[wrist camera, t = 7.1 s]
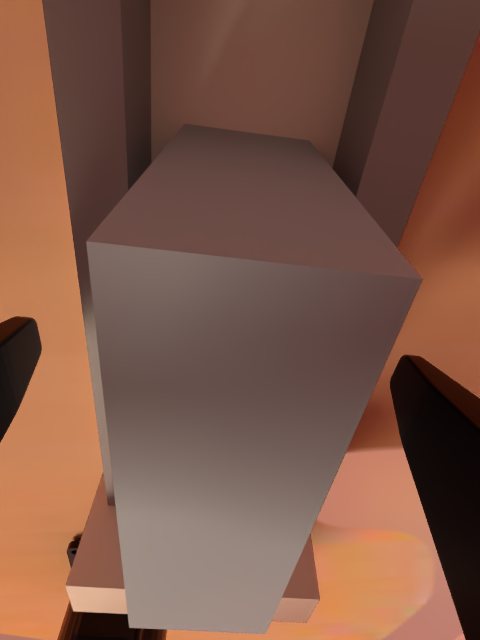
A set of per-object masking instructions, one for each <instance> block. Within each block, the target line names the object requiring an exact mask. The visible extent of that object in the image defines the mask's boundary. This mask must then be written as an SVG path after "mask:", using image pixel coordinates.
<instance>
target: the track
mask: <svg viewBox="0 0 480 640" xmlns="http://www.w3.org/2000/svg"><path fill="white" fill-rule="evenodd" d="M42 3H43V10H44V18H45V26H46V33H47V41H48V49H49V57H50V64H51V72H52V80H53V87H54V95H55V103H56V110H57V118H58V126H59V134H60V141H61V149H62V157H63V164H64V172H65V180H66V187H67V195H68V203H69V210H70V218H71V226H72V234H73V241H74V249H75V257H76V264H77V272H78V280H79V287H80V295H81V303H82V311H83V318H84V326H85V334H86V341H87V349H88V357H89V364H90V372H91V380H92V388H93V395H94V403H95V411H96V418H97V426H98V434H99V441H100V449H101V457H102V464H103V474H102V477H101V480H100V483H99V486H98V489H97V492H96V495H95V498H94V501H93V504H92V507H91V510H90V513H89V516H88V519H87V522H86V525H85V528H84V531H83V534H82V537H81V540H80V544H79V547H78V550H77V553H76V556H75V559H74V562H73V565H72V568H71V571H70V574H69V577H68V580H67V583H66V589H67V593H68V596H69V599H70V602H71V605H72V609H73V611H76V612H96V613H116V614H128V613H127V604H126V595H125V586H124V577H123V568H122V559H121V550H120V541H119V532H118V523H117V514H116V505H115V496H114V487H113V478H112V469H111V460H110V451H109V442H108V433H107V424H106V415H105V406H104V397H103V388H102V379H101V370H100V361H99V352H98V343H97V334H96V325H95V316H94V307H93V299H92V290H91V281H90V272H89V263H88V254H87V245H86V241H87V240H88V238H89V237H90V236H91V235H92V234H93V233H94V231H95V230H96V229H97V228H98V227H99V225H100V224H101V223H102V222H103V221H104V219H105V218H106V217H107V216H108V215H109V213H110V212H111V211H112V210H113V209H114V207H115V206H116V205H117V204H118V203H119V202H120V200H121V199H122V198H123V197H124V196H125V194H126V193H127V192H128V191H129V190H130V188H131V187H132V186H133V185H134V184H135V182H136V181H137V180H138V179H139V178H140V177H141V175H142V174H143V173H144V172H145V171H146V169H147V168H148V167H149V166H150V165H151V163H152V162H153V161H154V160H155V159H156V157H157V156H158V155H159V154H160V153H161V152H162V150H163V149H164V148H165V147H166V146H167V144H168V143H169V142H170V141H171V140H172V138H173V137H174V136H175V135H176V134H177V132H178V131H179V130H180V129H181V128H182V126H183V125H184V124H191V125H198V126H205V127H213V128H220V129H228V130H235V131H242V132H250V133H257V134H265V135H272V136H279V137H287V138H294V139H302V140H309V141H310V142H311V143H312V144H313V146H314V147H315V148H316V149H317V150H318V152H319V153H320V154H321V155H322V157H323V158H324V159H325V160H326V161H327V163H328V164H329V165H330V166H331V168H332V169H333V170H334V171H335V173H336V174H337V175H338V176H339V177H340V179H341V180H342V181H343V182H344V184H345V185H346V186H347V187H348V188H349V190H350V191H351V192H352V193H353V195H354V196H355V197H356V198H357V199H358V201H359V202H360V203H361V204H362V206H363V207H364V208H365V209H366V210H367V212H368V213H369V214H370V215H371V217H372V218H373V219H374V220H375V221H376V223H377V224H378V225H379V226H380V228H381V229H382V230H383V231H384V233H385V234H386V235H387V236H388V237H389V239H390V240H391V241H392V242H393V244H394V245H395V246H396V247H397V248H398V245H399V242H400V240H401V237H402V234H403V232H404V229H405V227H406V224H407V221H408V219H409V216H410V214H411V211H412V208H413V206H414V203H415V200H416V198H417V195H418V193H419V190H420V187H421V185H422V182H423V179H424V177H425V174H426V172H427V169H428V166H429V164H430V161H431V159H432V156H433V153H434V151H435V148H436V145H437V143H438V140H439V138H440V135H441V132H442V130H443V127H444V125H445V122H446V119H447V117H448V114H449V111H450V109H451V106H452V104H453V101H454V98H455V96H456V93H457V90H458V88H459V85H460V83H461V80H462V77H463V75H464V72H465V70H466V67H467V64H468V62H469V59H470V56H471V54H472V51H473V49H474V46H475V43H476V41H477V38H478V36H479V33H480V0H42ZM319 601H320V595H319V589H318V582H317V575H316V568H315V561H314V554H313V547H312V541H311V534H310V535H309V537H308V539H307V542H306V544H305V546H304V548H303V551H302V553H301V555H300V557H299V560H298V562H297V564H296V566H295V569H294V571H293V573H292V575H291V578H290V580H289V582H288V584H287V587H286V589H285V591H284V593H283V596H282V598H281V600H280V603H279V605H278V607H277V609H276V612H275V614H274V616H273V618H272V621H276V622H296V623H307V621H308V619H309V618H310V616H311V614H312V613H313V611H314V609H315V608H316V606H317V604H318V602H319Z"/></svg>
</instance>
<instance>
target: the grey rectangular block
mask: <svg viewBox="0 0 480 640" xmlns="http://www.w3.org/2000/svg"><path fill="white" fill-rule="evenodd" d="M86 245H87V254H88V263H89V272H90V281H91V290H92V299H93V307H94V316H95V325H96V334H97V343H98V352H99V361H100V370H101V379H102V388H103V397H104V406H105V415H106V424H107V433H108V442H109V451H110V460H111V469H112V478H113V487H114V496H115V505H116V514H117V523H118V532H119V541H120V550H121V559H122V568H123V577H124V586H125V595H126V604H127V613H128V622H129V628H146V629H167V630H188V631H209V632H230V633H252V634H266V632H267V630H268V627H269V625H270V623H271V621H272V618H273V616H274V614H275V612H276V609H277V607H278V605H279V603H280V600H281V598H282V596H283V593H284V591H285V589H286V587H287V584H288V582H289V580H290V578H291V575H292V573H293V571H294V569H295V566H296V564H297V562H298V560H299V557H300V555H301V553H302V551H303V548H304V546H305V544H306V542H307V539H308V537H309V535H310V533H311V530H312V528H313V526H314V524H315V521H316V519H317V517H318V514H319V512H320V510H321V508H322V505H323V503H324V501H325V499H326V496H327V494H328V492H329V489H330V487H331V485H332V483H333V481H334V478H335V476H336V474H337V472H338V469H339V467H340V465H341V463H342V460H343V458H344V456H345V454H346V451H347V449H348V447H349V444H350V442H351V440H352V438H353V435H354V433H355V431H356V429H357V426H358V424H359V422H360V420H361V417H362V415H363V413H364V411H365V408H366V406H367V404H368V402H369V399H370V397H371V395H372V393H373V390H374V388H375V386H376V384H377V381H378V379H379V377H380V375H381V372H382V370H383V368H384V365H385V363H386V361H387V359H388V356H389V354H390V352H391V350H392V347H393V345H394V343H395V341H396V338H397V336H398V334H399V332H400V329H401V327H402V325H403V323H404V320H405V318H406V316H407V314H408V311H409V309H410V307H411V305H412V302H413V300H414V298H415V295H416V293H417V291H418V289H419V286H420V284H421V282H422V280H423V279H422V278H421V277H420V275H419V274H418V273H417V272H416V270H415V269H414V268H413V267H412V266H411V264H410V263H409V262H408V261H407V259H406V258H405V257H404V256H403V255H402V253H401V252H400V251H399V250H398V248H397V247H396V246H395V245H394V244H393V242H392V241H391V240H390V239H389V237H388V236H387V235H386V234H385V233H384V231H383V230H382V229H381V228H380V226H379V225H378V224H377V223H376V221H375V220H374V219H373V218H372V217H371V215H370V214H369V213H368V212H367V210H366V209H365V208H364V207H363V206H362V204H361V203H360V202H359V201H358V199H357V198H356V197H355V196H354V195H353V193H352V192H351V191H350V190H349V188H348V187H347V186H346V185H345V184H344V182H343V181H342V180H341V179H340V177H339V176H338V175H337V174H336V173H335V171H334V170H333V169H332V168H331V166H330V165H329V164H328V163H327V161H326V160H325V159H324V158H323V157H322V155H321V154H320V153H319V152H318V150H317V149H316V148H315V147H314V146H313V144H312V143H311V142H310V141H309V140H302V139H294V138H287V137H279V136H272V135H265V134H257V133H250V132H242V131H235V130H228V129H220V128H213V127H205V126H198V125H191V124H184V125H183V126H182V128H181V129H180V130H179V131H178V132H177V134H176V135H175V136H174V137H173V138H172V140H171V141H170V142H169V143H168V144H167V146H166V147H165V148H164V149H163V150H162V152H161V153H160V154H159V155H158V156H157V157H156V159H155V160H154V161H153V162H152V163H151V165H150V166H149V167H148V168H147V169H146V171H145V172H144V173H143V174H142V175H141V177H140V178H139V179H138V180H137V181H136V182H135V184H134V185H133V186H132V187H131V188H130V190H129V191H128V192H127V193H126V194H125V196H124V197H123V198H122V199H121V200H120V202H119V203H118V204H117V205H116V206H115V207H114V209H113V210H112V211H111V212H110V213H109V215H108V216H107V217H106V218H105V219H104V221H103V222H102V223H101V224H100V225H99V227H98V228H97V229H96V230H95V231H94V233H93V234H92V235H91V236H90V237H89V238H88V240H87V241H86Z"/></svg>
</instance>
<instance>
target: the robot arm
mask: <svg viewBox="0 0 480 640" xmlns="http://www.w3.org/2000/svg"><path fill="white" fill-rule="evenodd" d="M41 350H42V346H41V340H40V336H39V331H38V327H37V323H36V321H35V319H33V318H29V317H20V316H16V317H13V318H10V319H8V320H6V321H4V322H2V323H0V442H1V440H2V439H3V437H4V435H5V433H6V431H7V429H8V428H9V426H10V424H11V422H12V420H13V418H14V417H15V415H16V413H17V411H18V409H19V407H20V404H21V402H22V400H23V397H24V395H25V392H26V390H27V387H28V385H29V382H30V380H31V377H32V375H33V372H34V370H35V367H36V365H37V362H38V360H39V357H40V355H41ZM390 389H391V394H392V399H393V404H394V409H395V414H396V419H397V423H398V428H399V433H400V437H401V441H402V445H403V448H404V451H405V454H406V457H407V460H408V464H409V467H410V470H411V472H412V476H413V479H414V482H415V485H416V488H417V491H418V494H419V497H420V501H421V504H422V506H423V510H424V513H425V516H426V519H427V522H428V525H429V528H430V531H431V534H432V537H433V540H434V543H435V547H436V550H437V553H438V556H439V559H440V562H441V565H442V568H443V571H444V574H445V577H446V580H447V583H448V587H449V590H450V592H451V596H452V599H453V602H454V605H455V608H456V611H457V614H458V617H459V620H460V623H461V627H462V630H463V633H464V636H465V639H466V640H480V398H478V397H477V396H475V395H474V394H473V393H471V392H470V391H468V390H467V389H465V388H464V387H463V386H461V385H460V384H458V383H457V382H456V381H454V380H453V379H451V378H450V377H449V376H447V375H446V374H444V373H443V372H442V371H440V370H439V369H437V368H436V367H435V366H433V365H432V364H430V363H429V362H428V361H426V360H425V359H423V358H422V357H420V356H414V355H403V356H402V357H401V358H400V360H399V362H398V364H397V366H396V369H395V371H394V373H393V375H392V377H391V381H390ZM79 544H80V541H72V542H70V543H69V546H68V549H67V555H68V558H69V562H70V566H71V568H72V565H73V562H74V559H75V556H76V553H77V550H78V547H79ZM166 633H167V629H146V628H129V622H128V614H116V613H96V612H76V611H73V609H72V605H71V602H70V601H69V604H68V608H67V611H66V614H65V617H64V620H63V623H62V627H61V630H60V633H59V636H58V639H57V640H166Z"/></svg>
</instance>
